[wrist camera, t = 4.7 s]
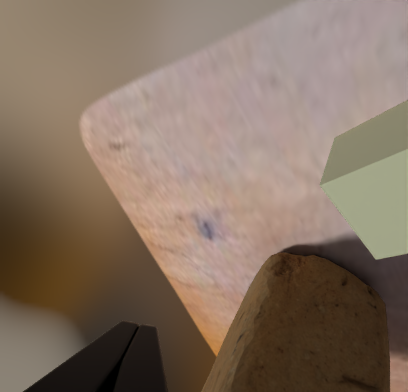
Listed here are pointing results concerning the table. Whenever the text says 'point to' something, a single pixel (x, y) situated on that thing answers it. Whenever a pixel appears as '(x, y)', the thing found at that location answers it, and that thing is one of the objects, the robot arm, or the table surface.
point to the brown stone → (305, 332)
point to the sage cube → (373, 181)
